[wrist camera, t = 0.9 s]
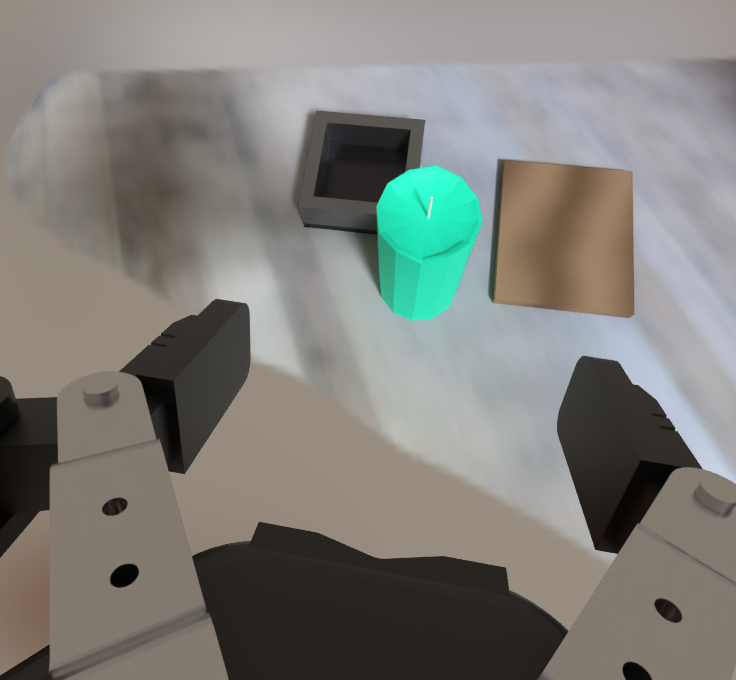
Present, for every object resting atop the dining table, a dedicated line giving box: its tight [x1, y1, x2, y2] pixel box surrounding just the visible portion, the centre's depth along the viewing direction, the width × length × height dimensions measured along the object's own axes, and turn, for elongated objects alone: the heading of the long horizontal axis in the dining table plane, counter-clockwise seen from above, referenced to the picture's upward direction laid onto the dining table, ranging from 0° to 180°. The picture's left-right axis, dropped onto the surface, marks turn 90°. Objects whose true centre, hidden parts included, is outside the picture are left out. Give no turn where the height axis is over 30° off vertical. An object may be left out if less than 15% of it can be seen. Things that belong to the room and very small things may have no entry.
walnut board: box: [493, 160, 634, 318], centre depth 37 cm, size 10×12×1 cm
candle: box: [376, 165, 482, 320], centre depth 31 cm, size 6×6×12 cm
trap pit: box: [298, 111, 425, 234], centre depth 38 cm, size 9×9×3 cm
